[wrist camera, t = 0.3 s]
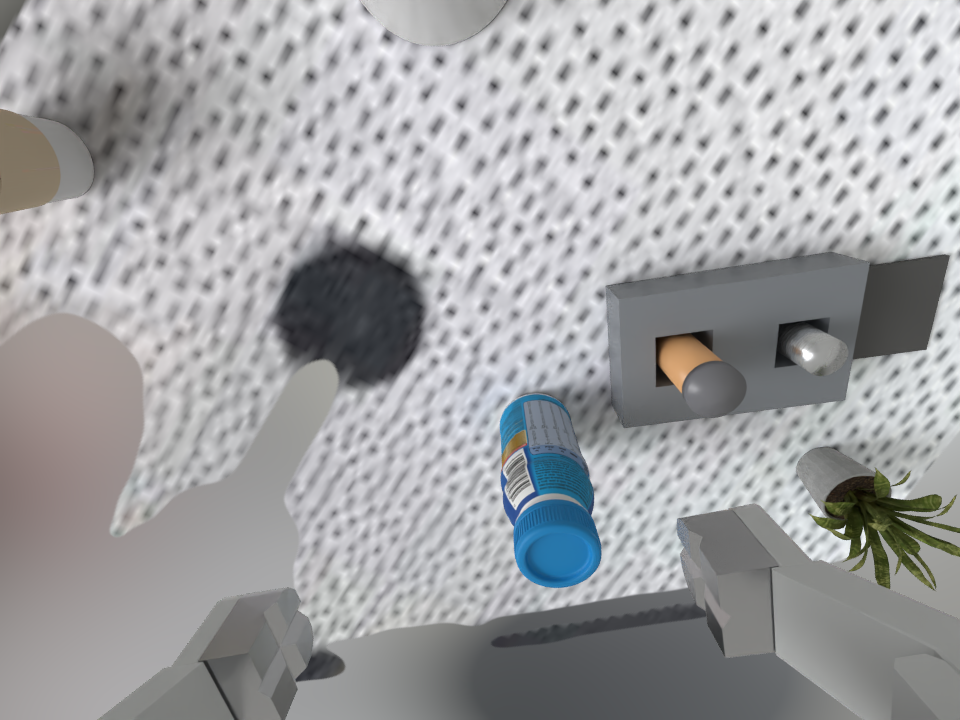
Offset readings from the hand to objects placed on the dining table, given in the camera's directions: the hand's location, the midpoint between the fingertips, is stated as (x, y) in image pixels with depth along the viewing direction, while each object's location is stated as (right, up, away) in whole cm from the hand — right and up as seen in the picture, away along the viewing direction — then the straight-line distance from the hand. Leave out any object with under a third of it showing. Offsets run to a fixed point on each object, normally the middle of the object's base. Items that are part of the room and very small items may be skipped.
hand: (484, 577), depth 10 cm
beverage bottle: (+6, -3, +44) cm, 44 cm away
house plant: (+41, -7, +45) cm, 62 cm away
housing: (+25, +7, +39) cm, 47 cm away
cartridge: (+20, +7, +39) cm, 45 cm away
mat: (+42, +10, +38) cm, 57 cm away
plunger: (+31, +7, +36) cm, 48 cm away
